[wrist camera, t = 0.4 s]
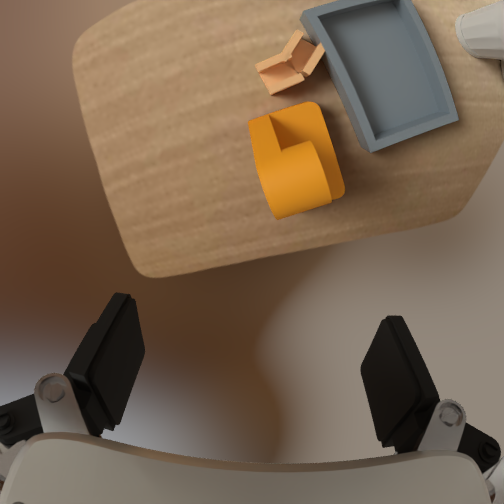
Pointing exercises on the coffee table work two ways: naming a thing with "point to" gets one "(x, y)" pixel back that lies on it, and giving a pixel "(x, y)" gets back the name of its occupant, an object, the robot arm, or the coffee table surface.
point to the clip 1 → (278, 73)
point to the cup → (483, 31)
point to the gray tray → (382, 68)
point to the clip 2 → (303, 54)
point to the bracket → (295, 159)
